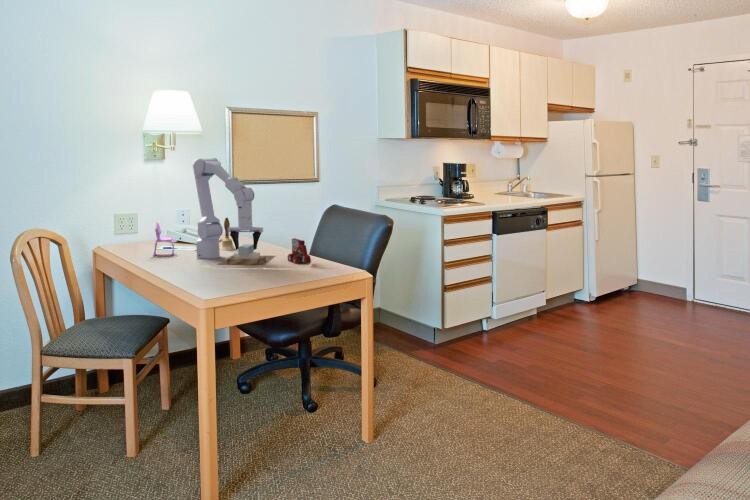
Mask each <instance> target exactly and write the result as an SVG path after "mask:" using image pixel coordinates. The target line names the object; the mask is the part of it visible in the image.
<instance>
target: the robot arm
mask: <svg viewBox="0 0 750 500" xmlns="http://www.w3.org/2000/svg"><path fill="white" fill-rule="evenodd" d="M192 169H193V174H194V180H195V186H196V191H197V198H198V201H199V202H198V203H199V207H200V208H199V209H200V215H201V218H200V220H199V221H198V222H197V235H198V236H199V238H198V239H197V241H196V260H199V259H218V258H220V257H221V255H220V253H221V252H220V251H221V250H220V239H221V236H222V235H223V233H224V232H223V231H224V230H223V228H224V227H223V226H222V224H221V221H220V218H218V217H216V216H215V211H214V205H213V201H212V194H211V189H210V184H209V181H210V179H211V178H212V177H214V175H215V176H217V177H218V178H219V179H220V180H222V182H224V186H225V188H226V189H227V190H228V191H229V192H230V193H232V195H233V198H234V201H235V202H236V203H235V204H236V207H237V224H238V226H230V227H228V232H229V237H231V240H232V242H233V245H234V248H235V250H238V247H240V243H239V235H240V233H252V239H253V240H252V241H253V244H254V251H255V250H257V248H258V242H259V239H260V237H261V235H262V233H263V232H264V227H259V226H253V209H252V208H253V205H252V204H253V203H252V202H253V200H254V199H255V191H254V189H252V187H247V186H246V185H245V184H243V183H242V182H241V181H240V180H239V178H238V177H235V176H231V175H230V174H229V173H228V172H227V170H226V169H225V168H224V167H223V166H222V163H221V161H219V159H218V158H217V157H211V158H210V157H209V158H201V157H197V158H196V159H195V160H194V162H193V164H192Z"/></svg>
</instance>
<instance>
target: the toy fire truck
mask: <svg viewBox="0 0 750 500" xmlns="http://www.w3.org/2000/svg"><path fill="white" fill-rule="evenodd" d="M305 243H306V241H305V240H303V239H302V240H301V239H298V238H292V239H291V246H292V247H291V253H289V254H287V261H288V262H290V263H293V264H294V265H299V264H302V263H304V264H305V263H307V264H311V259H312V258H311V256H310V255H309V253H308V250H307V245H306V244H305Z"/></svg>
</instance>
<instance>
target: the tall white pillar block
mask: <svg viewBox="0 0 750 500" xmlns="http://www.w3.org/2000/svg"><path fill="white" fill-rule="evenodd" d="M260 252H261V251H260ZM260 252H258V251H253V252H252V253H250V254H249V255H239V254H238V251H236V252H234V253H233V255H234V259H259V258H260V256H261V253H260Z"/></svg>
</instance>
